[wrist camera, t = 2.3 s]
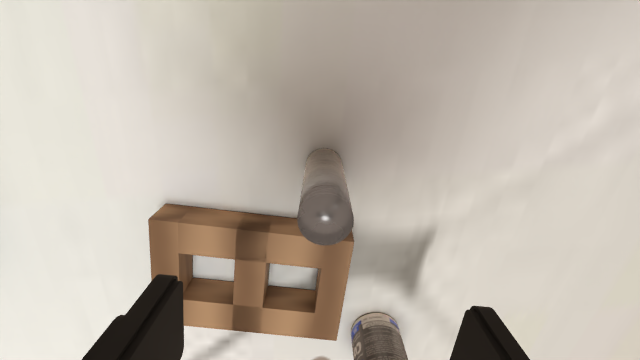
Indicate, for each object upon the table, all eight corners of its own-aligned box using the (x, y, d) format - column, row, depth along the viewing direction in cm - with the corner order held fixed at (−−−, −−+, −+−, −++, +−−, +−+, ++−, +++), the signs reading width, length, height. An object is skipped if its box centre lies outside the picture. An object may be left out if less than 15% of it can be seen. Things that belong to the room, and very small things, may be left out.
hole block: (350, 224, 29) (354, 242, 26) (335, 316, 32) (336, 340, 29) (165, 203, 28) (148, 219, 25) (169, 299, 32) (153, 322, 29)
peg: (344, 150, 27) (357, 198, 17) (339, 185, 28) (349, 248, 18) (307, 146, 27) (300, 191, 17) (303, 181, 28) (294, 242, 18)
